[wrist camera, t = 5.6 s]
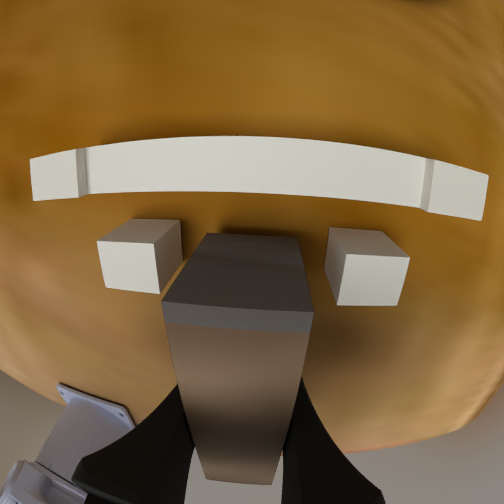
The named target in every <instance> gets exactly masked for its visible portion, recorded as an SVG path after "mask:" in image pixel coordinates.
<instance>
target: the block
mask: <svg viewBox="0 0 504 504" xmlns="http://www.w3.org/2000/svg"><path fill="white" fill-rule="evenodd" d="M161 302H162V308H163V314H164V320H165V326H166V331H167V337H168V342H169V347H170V352H171V356H172V361H173V366H174V370H175V374H176V379H177V383H178V387H179V391H180V395H181V399H182V403H183V406H184V410H185V414H186V417H187V421H188V424H189V428H190V431H191V435H192V438H193V441H194V444H195V447H196V450H197V454H198V457H199V460H200V462H201V465H202V468H203V471H204V474H205V477H206V479H209V480H216V481H224V482H232V483H243V484H259V485H272V481H273V479H274V475H275V472H276V469H277V466H278V462H279V459H280V456H281V453H282V449H283V446H284V442H285V439H286V435H287V431H288V428H289V424H290V420H291V416H292V413H293V409H294V405H295V401H296V396H297V392H298V388H299V384H300V379H301V375H302V370H303V366H304V361H305V356H306V352H307V347H308V342H309V337H310V331H311V326H312V321H313V315H314V310H313V305H312V300H311V295H310V291H309V286H308V282H307V277H306V273H305V268H304V264H303V260H302V255H301V251H300V247H299V243H298V239H297V237H281V236H262V235H242V234H221V233H207V234H206V235H205V237H204V238H203V240H202V241H201V243H200V244H199V245H198V247H197V248H196V250H195V251H194V253H193V254H192V256H191V257H190V259H189V260H188V262H187V263H186V264H185V266H184V267H183V269H182V270H181V272H180V273H179V275H178V276H177V278H176V279H175V281H174V282H173V284H172V285H171V287H170V289H169V290H168V292H167V293H166V295H165V296H164V298H163V299H162V301H161Z"/></svg>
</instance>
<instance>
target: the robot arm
mask: <svg viewBox="0 0 504 504" xmlns="http://www.w3.org/2000/svg"><path fill="white" fill-rule="evenodd" d="M56 388H57V389H58V391H59V393H60V394H61V396H62V397H63V399H64V400H65V402H66V403H67V406H66V408H65V409H64V411H63V413H62V414H61V416H60V418H59V419H58V421H57V423H56V424H55V426H54V428H53V429H52V431H51V433H50V435H49V437H48V438H47V440H46V442H45V443H44V445H43V447H42V449H41V451H40V453H39V455H38V456H37V458H36V460H35V462H30V463H29V462H28V461H26V460H23V461H22V460H19V461H17V462H16V463H15V464H14V466H13V467H12V469H11V471H10V472H9V474H8V476H7V478H6V480H5V482H4V484H3V486H2V489H1V491H0V504H184V500H185V493H186V486H187V480H188V473H189V467H190V463H191V458H192V454H193V450H194V447H195V444H194V441H193V438H192V435H191V431H190V428H189V424H188V421H187V417H186V414H185V410H184V406H183V403H182V399H181V395H180V391H179V387H178V384H177V385H176V386H175V388H174V389H173V390H172V391H171V392H170V393H169V395H168V396H167V397H166V398H165V399H164V400H163V402H162V403H161V404H160V405H159V406H158V407H157V408H156V409H155V410H154V411H153V412H152V413H151V414H150V415H149V416H148V417H147V418H146V419H144V420H143V421H142V422H141V423H140V424H139V425H137V426H136V427H135V425H134V423H133V422H132V420H131V418H130V416H129V414H128V412H127V410H126V409H125V408H124V407H122V406H120V405H117V404H113V403H110V402H107V401H104V400H101V399H98V398H95V397H92V396H89V395H87V394H84V393H81V392H79V391H76V390H73V389H71V388H68V387H66V386H64V385H61V384H57V386H56ZM282 450H283V486H282V501H281V504H385V500H384V497H383V495H382V492H381V490H380V489H378V488H377V487H376V486H375V485H373V484H372V483H371V482H370V481H369V480H368V479H366V478H365V477H364V476H363V475H362V474H361V473H360V472H359V471H358V470H357V469H356V468H355V467H354V466H353V465H352V464H351V462H350V461H349V460H348V459H347V458H346V457H345V456H344V454H343V453H342V452H341V451H340V449H339V448H338V447H337V445H336V444H335V443H334V441H333V440H332V438H331V437H330V435H329V434H328V432H327V431H326V429H325V427H324V426H323V424H322V422H321V420H320V419H319V417H318V415H317V413H316V411H315V409H314V407H313V405H312V403H311V400H310V398H309V396H308V393H307V391H306V388H305V385H304V382H303V379H302V376H301V379H300V384H299V388H298V392H297V396H296V401H295V405H294V409H293V413H292V416H291V420H290V424H289V428H288V431H287V435H286V439H285V442H284V446H283V449H282Z"/></svg>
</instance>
